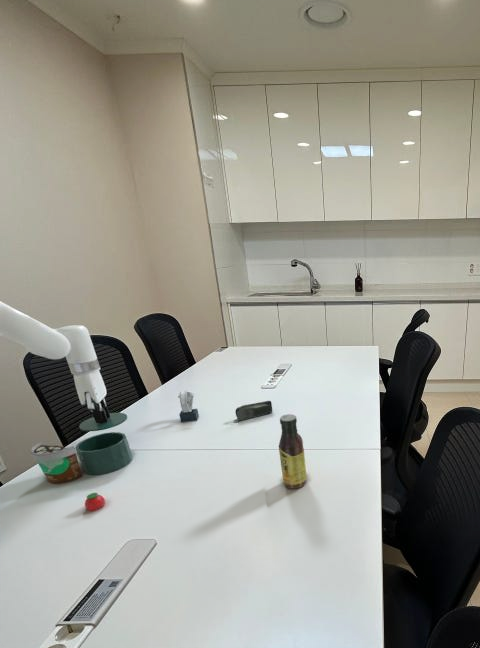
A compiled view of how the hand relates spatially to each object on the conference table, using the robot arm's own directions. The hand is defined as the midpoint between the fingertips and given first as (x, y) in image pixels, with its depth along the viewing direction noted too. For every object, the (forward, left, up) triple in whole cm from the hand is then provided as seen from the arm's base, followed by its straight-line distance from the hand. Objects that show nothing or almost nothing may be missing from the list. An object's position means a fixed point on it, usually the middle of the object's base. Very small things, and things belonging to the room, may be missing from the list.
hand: (103, 419), depth 127 cm
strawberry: (+8, -42, -8) cm, 44 cm away
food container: (-7, -23, -8) cm, 25 cm away
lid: (0, 0, -1) cm, 1 cm away
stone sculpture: (+24, +10, -8) cm, 27 cm away
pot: (+4, -17, -8) cm, 19 cm away
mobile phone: (+47, +4, -8) cm, 48 cm away
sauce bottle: (+56, -47, -8) cm, 74 cm away
